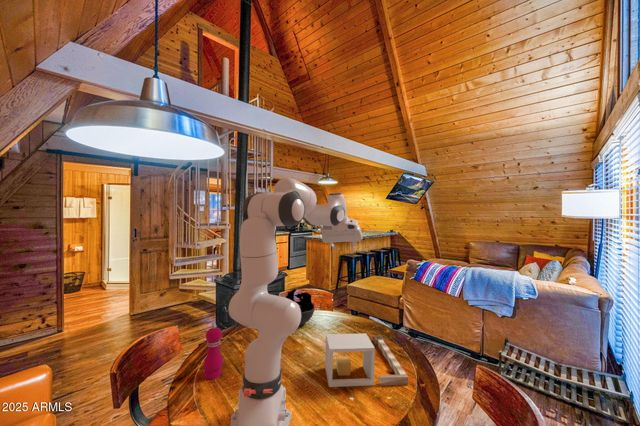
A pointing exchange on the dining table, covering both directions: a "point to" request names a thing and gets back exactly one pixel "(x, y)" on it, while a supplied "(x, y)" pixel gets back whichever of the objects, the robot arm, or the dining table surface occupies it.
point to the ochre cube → (343, 366)
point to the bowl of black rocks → (303, 305)
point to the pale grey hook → (400, 375)
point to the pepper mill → (213, 354)
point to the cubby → (350, 345)
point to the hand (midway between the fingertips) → (343, 249)
